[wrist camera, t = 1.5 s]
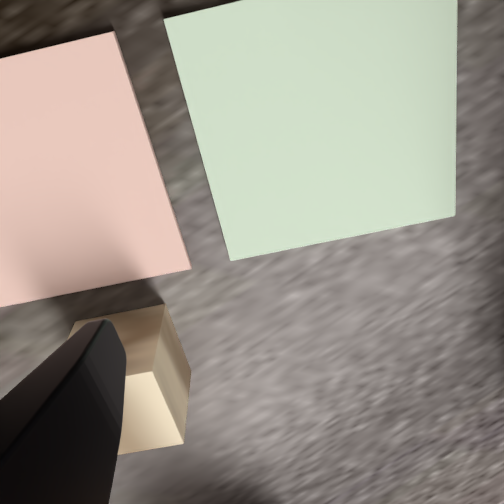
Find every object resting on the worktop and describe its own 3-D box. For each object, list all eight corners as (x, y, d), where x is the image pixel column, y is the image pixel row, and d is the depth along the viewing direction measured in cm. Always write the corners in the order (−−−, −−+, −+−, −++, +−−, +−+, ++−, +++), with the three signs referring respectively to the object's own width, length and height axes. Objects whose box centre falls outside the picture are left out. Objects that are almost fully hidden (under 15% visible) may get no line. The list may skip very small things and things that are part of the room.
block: (165, 302, 25) (152, 371, 21) (191, 370, 28) (183, 443, 23) (75, 320, 26) (44, 391, 21) (109, 385, 28) (87, 460, 24)
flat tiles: (454, -52, 17) (457, -52, 17) (452, 213, 23) (455, 215, 23) (-147, 93, 19) (-152, 95, 19) (-14, 307, 25) (-16, 310, 24)
